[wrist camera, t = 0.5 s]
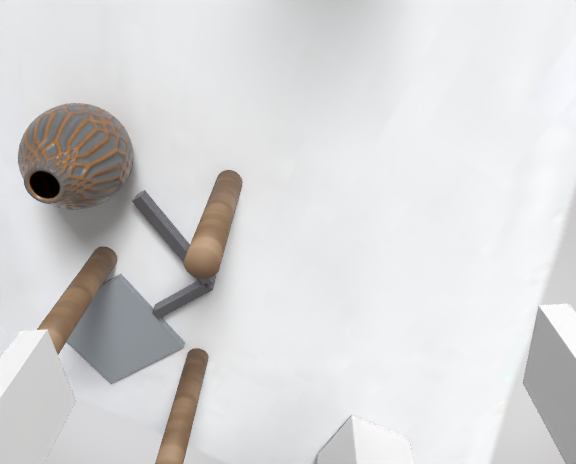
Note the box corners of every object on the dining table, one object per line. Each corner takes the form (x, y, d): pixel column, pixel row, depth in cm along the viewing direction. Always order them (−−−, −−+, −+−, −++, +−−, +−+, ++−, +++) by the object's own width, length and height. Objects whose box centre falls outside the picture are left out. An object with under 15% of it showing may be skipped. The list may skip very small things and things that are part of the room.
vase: (108, 199, 39) (61, 256, 32) (33, 139, 37) (-38, 185, 29) (162, 140, 37) (125, 186, 29) (84, 73, 35) (22, 103, 27)
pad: (47, 316, 45) (44, 321, 44) (120, 273, 43) (118, 277, 42) (113, 379, 48) (111, 383, 48) (184, 342, 46) (183, 347, 46)
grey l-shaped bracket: (85, 227, 40) (79, 234, 39) (144, 190, 39) (140, 196, 38) (161, 310, 44) (157, 318, 43) (218, 279, 43) (216, 287, 42)
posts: (88, 253, 42) (16, 350, 31) (232, 165, 38) (205, 242, 27) (195, 367, 47) (165, 481, 37) (330, 301, 43) (339, 409, 33)
